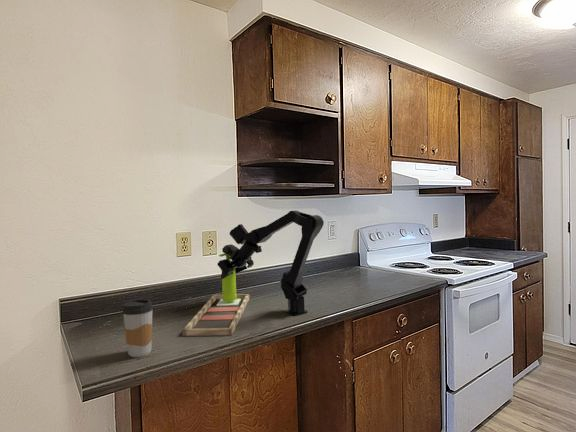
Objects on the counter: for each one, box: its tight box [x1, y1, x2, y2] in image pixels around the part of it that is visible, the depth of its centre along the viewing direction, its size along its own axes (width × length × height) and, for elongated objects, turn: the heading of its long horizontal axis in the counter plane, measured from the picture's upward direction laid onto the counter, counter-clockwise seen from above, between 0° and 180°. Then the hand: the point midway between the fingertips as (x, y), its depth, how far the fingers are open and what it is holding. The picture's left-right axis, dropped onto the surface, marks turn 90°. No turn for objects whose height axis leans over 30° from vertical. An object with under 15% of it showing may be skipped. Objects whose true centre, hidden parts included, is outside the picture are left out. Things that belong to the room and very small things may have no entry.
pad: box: [216, 299, 242, 307], centre depth 156 cm, size 9×9×1 cm
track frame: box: [182, 293, 251, 337], centre depth 140 cm, size 44×16×2 cm, turn 179°
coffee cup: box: [121, 298, 154, 358], centre depth 105 cm, size 8×8×15 cm
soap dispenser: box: [218, 253, 237, 301], centre depth 155 cm, size 6×7×20 cm
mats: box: [199, 306, 240, 321], centre depth 140 cm, size 15×13×1 cm
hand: (226, 276), depth 156 cm, fingers closed on soap dispenser, 6 cm apart
